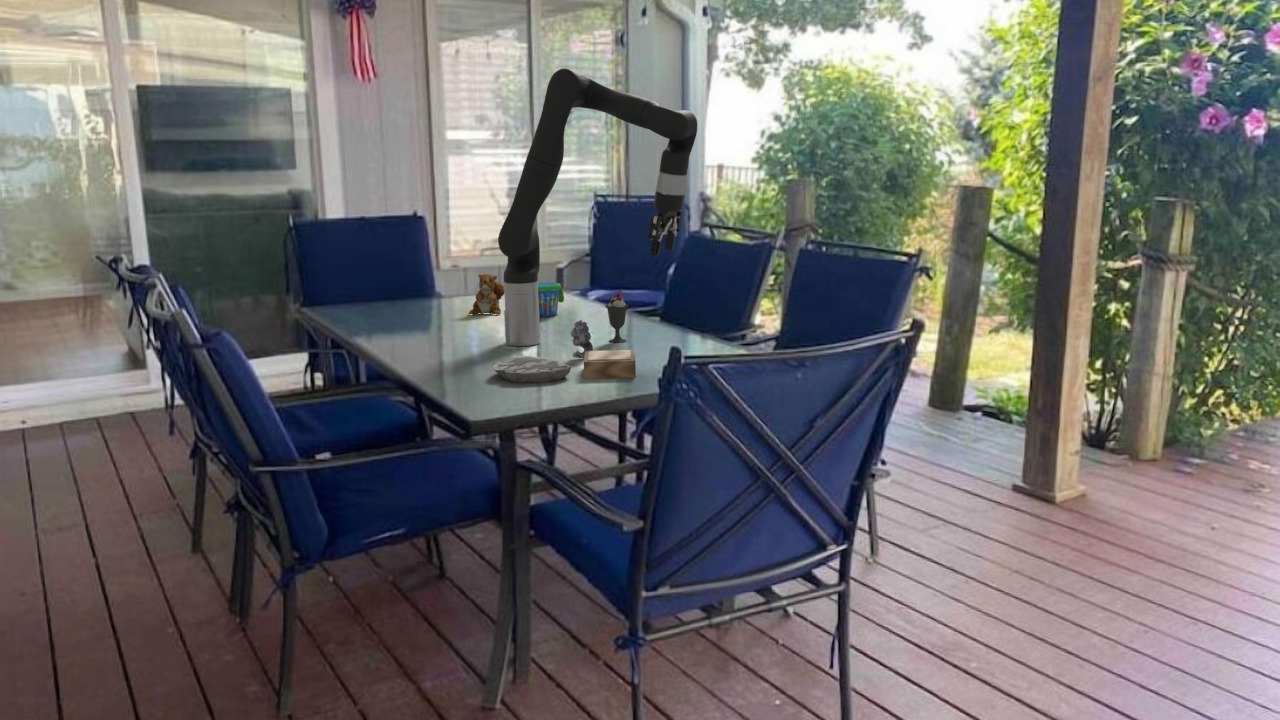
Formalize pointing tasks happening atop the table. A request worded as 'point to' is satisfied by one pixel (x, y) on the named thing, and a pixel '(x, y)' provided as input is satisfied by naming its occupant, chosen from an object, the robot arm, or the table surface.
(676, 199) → the robot arm
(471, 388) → the table surface
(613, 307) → the sundae
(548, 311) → the snack cup
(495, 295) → the stuffed squirrel
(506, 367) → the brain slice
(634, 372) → the plinth
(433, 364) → the table surface
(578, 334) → the grey figurine
